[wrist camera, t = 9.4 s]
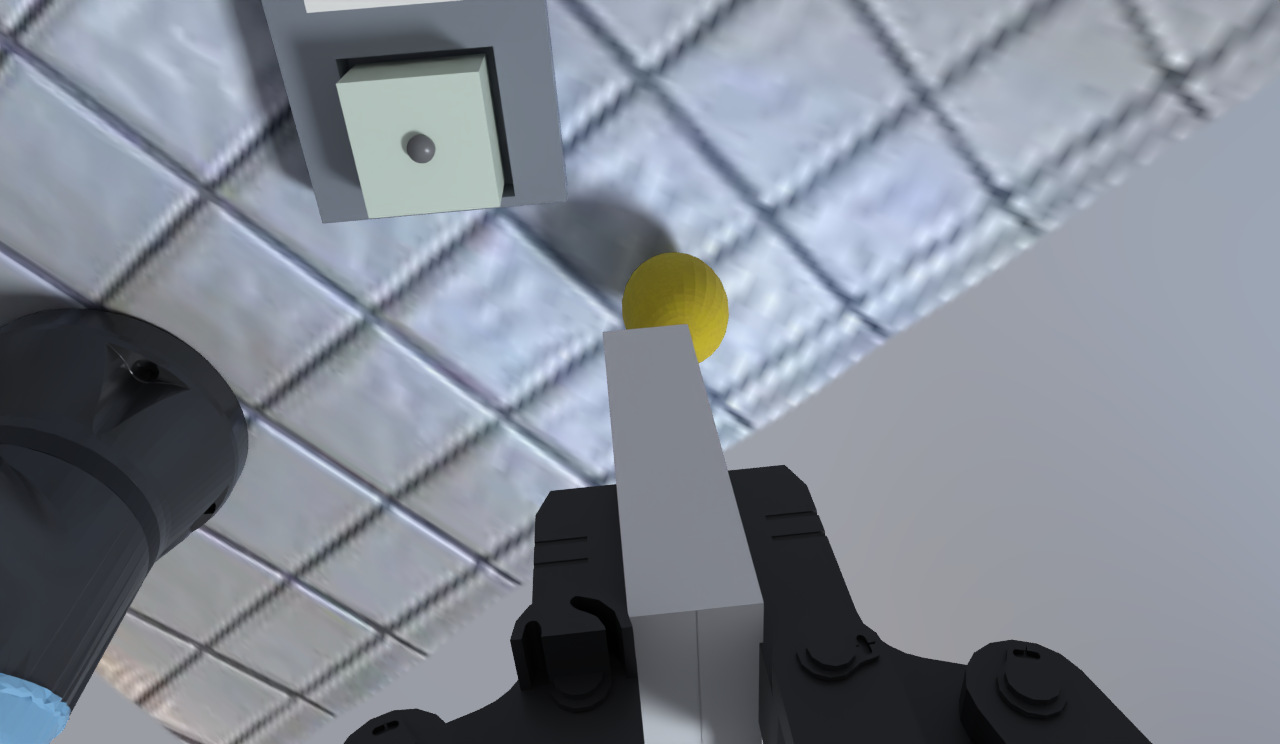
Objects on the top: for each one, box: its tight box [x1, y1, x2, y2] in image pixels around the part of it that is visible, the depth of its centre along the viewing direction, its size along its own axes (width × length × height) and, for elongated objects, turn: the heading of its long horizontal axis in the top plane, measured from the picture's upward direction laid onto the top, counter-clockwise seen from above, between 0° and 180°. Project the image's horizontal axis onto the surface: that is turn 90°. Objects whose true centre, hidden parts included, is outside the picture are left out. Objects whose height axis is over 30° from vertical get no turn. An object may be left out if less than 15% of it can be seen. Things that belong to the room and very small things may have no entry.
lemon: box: [622, 252, 729, 363], centre depth 44 cm, size 6×6×8 cm
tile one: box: [336, 53, 505, 219], centre depth 39 cm, size 6×6×4 cm
